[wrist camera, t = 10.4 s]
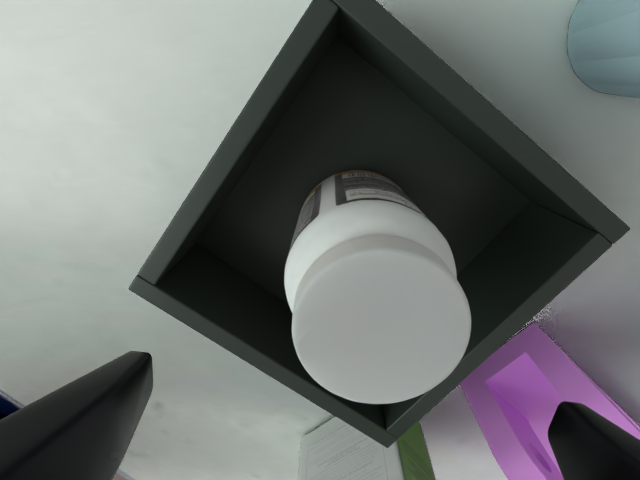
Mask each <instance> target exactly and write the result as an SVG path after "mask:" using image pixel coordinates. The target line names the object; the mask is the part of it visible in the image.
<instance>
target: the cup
mask: <svg viewBox="0 0 640 480" xmlns="http://www.w3.org/2000/svg"><path fill="white" fill-rule="evenodd" d="M567 50H568V55H569V59H570V62H571V64H572V67H573V69H574V72H575V73H576V75H577V76H578V77H579V78H580V79H581V80H582V81H583V82H584V83H585V84H587V85H588V86H589V87H590V88H592V89H594V90H595V91H598V92H602V93H608V94H614V95H621V96H628V97H636V98H640V0H579V2H578V3H577V5H576V7H575V10H574V12H573V14H572V17H571V20H570V24H569V30H568V40H567Z"/></svg>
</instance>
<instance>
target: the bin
mask: <svg viewBox="0 0 640 480" xmlns="http://www.w3.org/2000/svg"><path fill="white" fill-rule="evenodd" d="M350 170H365V171H370V172H375V173H378V174H380V175H382V176H385V177H386V178H388V179H390V180H391V181H392V182H394V183H395V184H396V185H398V186H399V187H400V188H401V189H402V190H403V192H404V193H405V194H406V195H407V196H408V197H409V198H410V199H411V200H412V201H413V202H414V204H415V205H416V206H417V207H418V208H419V210H420V211H421V212H422V213H423V214H424V215H425V216H426V217H427V218H428V219H429V220H430V221H431V222H432V223H433V224H434V225H435V226H436V228H437V229H438V230H439V231H440V232H441V234H442V235H443V236H444V238H445V239H446V240H447V242H448V244H449V246H450V249H451V252H452V254H453V258H454V262H455V266H456V274H457V281H458V282H459V284H460V285H461V287H462V289H463V291H464V293H465V295H466V298H467V300H468V304H469V308H470V313H471V333H470V338H469V342H468V345H467V348H466V351H465V353H464V355H463V357H462V359H461V360H460V362H459V363H458V365H457V366H456V368H455V369H454V370H453V371H452V372H451V374H450V375H449V376H448V377H447V378H446V379H445V380H443V381H442V382H441V383H439V384H438V385H437V386H435V387H434V388H432V389H431V390H429V391H427V392H426V393H424V394H421V395H419V396H417V397H414V398H411V399H408V400H405V401H401V402H396V403H388V404H369V403H360V402H355V401H351V400H348V399H345V398H343V397H340V396H338V395H336V394H334V393H332V392H330V391H328V390H327V389H325V388H324V387H322V386H321V385H320V384H318V383H317V382H316V381H315V380H314V379H313V378H312V377H311V376H310V375H309V373H308V372H307V371H306V370H305V368H304V367H303V365H302V363H301V362H300V360H299V358H298V355H297V353H296V350H295V347H294V343H293V338H292V315H293V314H292V311H291V309H290V307H289V304H288V301H287V296H286V292H285V286H284V271H285V264H286V261H287V257H288V254H289V250H290V247H291V243H292V239H293V235H294V232H295V228H296V225H297V222H298V218H299V215H300V212H301V209H302V206H303V204H304V202H305V200H306V199H307V197H308V196H309V194H310V193H311V192H312V190H313V189H314V188H315V187H316V186H317V185H318V184H320V183H321V182H322V181H324V180H325V179H327V178H329V177H330V176H332V175H335V174H338V173H341V172H345V171H350ZM629 230H630V228H629V226H627V225H626V224H625V223H624V222H623V221H622V220H621V219H620V218H619V217H617V216H616V215H615V214H614V213H613V212H612V211H611V210H610V209H608V208H607V207H606V206H605V205H604V204H603V203H602V202H601V201H599V200H598V199H597V198H596V197H595V196H594V195H593V194H592V193H591V192H589V191H588V190H587V189H586V188H585V187H584V186H583V185H582V184H580V183H579V182H578V181H577V180H576V179H575V178H574V177H573V176H571V175H570V174H569V173H568V172H567V171H566V170H565V169H564V168H563V167H561V166H560V165H559V164H558V163H557V162H556V161H555V160H554V159H552V158H551V157H550V156H549V155H548V154H547V153H546V152H545V151H544V150H542V149H541V148H540V147H539V146H538V145H537V144H536V143H535V142H533V141H532V140H531V139H530V138H529V137H528V136H527V135H526V134H524V133H523V132H522V131H521V130H520V129H519V128H518V127H517V126H516V125H514V124H513V123H512V122H511V121H510V120H509V119H508V118H507V117H505V116H504V115H503V114H502V113H501V112H500V111H499V110H498V109H496V108H495V107H494V106H493V105H492V104H491V103H490V102H489V101H488V100H486V99H485V98H484V97H483V96H482V95H481V94H480V93H479V92H477V91H476V90H475V89H474V88H473V87H472V86H471V85H470V84H468V83H467V82H466V81H465V80H464V79H463V78H462V77H461V76H460V75H458V74H457V73H456V72H455V71H454V70H453V69H452V68H451V67H449V66H448V65H447V64H446V63H445V62H444V61H443V60H442V59H441V58H439V57H438V56H437V55H436V54H435V53H434V52H433V51H432V50H430V49H429V48H428V47H427V46H426V45H425V44H424V43H423V42H421V41H420V40H419V39H418V38H417V37H416V36H415V35H414V34H413V33H411V32H410V31H409V30H408V29H407V28H406V27H405V26H404V25H402V24H401V23H400V22H399V21H398V20H397V19H396V18H395V17H393V16H392V15H391V14H390V13H389V12H388V11H387V10H386V9H385V8H383V7H382V6H381V5H380V4H379V3H378V2H377V1H376V0H313V1H312V2H311V4H310V5H309V7H308V8H307V10H306V11H305V13H304V15H303V16H302V18H301V19H300V21H299V22H298V24H297V26H296V27H295V29H294V30H293V32H292V33H291V35H290V36H289V38H288V40H287V41H286V43H285V44H284V46H283V47H282V49H281V51H280V52H279V54H278V55H277V57H276V58H275V60H274V62H273V63H272V65H271V66H270V68H269V69H268V71H267V72H266V74H265V76H264V77H263V79H262V80H261V82H260V83H259V85H258V87H257V88H256V90H255V91H254V93H253V94H252V96H251V97H250V99H249V101H248V102H247V104H246V105H245V107H244V108H243V110H242V112H241V113H240V115H239V116H238V118H237V119H236V121H235V123H234V124H233V126H232V127H231V129H230V130H229V132H228V133H227V135H226V137H225V138H224V140H223V141H222V143H221V144H220V146H219V148H218V149H217V151H216V152H215V154H214V155H213V157H212V158H211V160H210V162H209V163H208V165H207V166H206V168H205V169H204V171H203V173H202V174H201V176H200V177H199V179H198V180H197V182H196V183H195V185H194V187H193V188H192V190H191V191H190V193H189V194H188V196H187V198H186V199H185V201H184V202H183V204H182V205H181V207H180V209H179V210H178V212H177V213H176V215H175V216H174V218H173V219H172V221H171V223H170V224H169V226H168V227H167V229H166V230H165V232H164V234H163V235H162V237H161V238H160V240H159V241H158V243H157V244H156V246H155V248H154V249H153V251H152V252H151V254H150V255H149V257H148V259H147V260H146V262H145V263H144V265H143V266H142V268H141V270H140V271H139V273H138V275H137V276H136V277H135V279H134V280H133V282H132V283H131V285H130V287H129V290H131V291H132V292H134V293H136V294H137V295H139V296H140V297H142V298H144V299H145V300H147V301H149V302H150V303H152V304H153V305H155V306H157V307H158V308H160V309H162V310H163V311H165V312H166V313H168V314H170V315H171V316H173V317H175V318H176V319H178V320H179V321H181V322H183V323H184V324H186V325H188V326H189V327H191V328H192V329H194V330H196V331H197V332H199V333H201V334H202V335H204V336H205V337H207V338H209V339H210V340H212V341H214V342H215V343H217V344H219V345H220V346H222V347H223V348H225V349H227V350H228V351H230V352H232V353H233V354H235V355H236V356H238V357H240V358H241V359H243V360H245V361H246V362H248V363H249V364H251V365H253V366H254V367H256V368H258V369H259V370H261V371H262V372H264V373H266V374H267V375H269V376H271V377H272V378H274V379H275V380H277V381H279V382H280V383H282V384H284V385H285V386H287V387H288V388H290V389H292V390H293V391H295V392H297V393H298V394H300V395H301V396H303V397H305V398H306V399H308V400H310V401H311V402H313V403H315V404H316V405H318V406H319V407H321V408H323V409H324V410H326V411H328V412H329V413H331V414H332V415H334V416H336V417H337V418H339V419H341V420H342V421H344V422H345V423H347V424H349V425H350V426H352V427H354V428H355V429H357V430H358V431H360V432H362V433H363V434H365V435H367V436H368V437H370V438H371V439H373V440H375V441H376V442H378V443H380V444H381V445H383V446H384V447H386V448H389V447H390V446H391V445H392V444H393V443H394V442H395V441H396V440H398V438H400V437H401V436H402V435H403V434H404V433H405V432H407V431H408V430H409V429H410V428H411V427H412V426H413V425H414V424H415V423H417V422H418V421H419V420H420V419H421V418H422V417H423V416H424V415H425V414H426V413H428V412H429V411H430V410H431V409H432V408H433V407H434V406H435V405H436V404H438V403H439V402H440V401H441V400H442V399H443V398H444V397H445V396H446V395H447V394H449V393H450V392H451V391H452V390H453V389H454V388H455V387H456V386H457V385H459V384H460V383H461V382H462V381H463V380H464V379H465V378H466V377H467V376H468V375H470V374H471V373H472V372H473V371H474V370H475V369H476V368H477V367H478V366H480V365H481V364H482V363H483V362H484V361H485V360H486V359H487V358H488V357H489V356H491V355H492V354H493V353H494V352H495V351H496V350H497V349H498V348H499V347H501V346H502V345H503V344H504V343H505V342H506V341H507V340H508V339H509V338H510V337H512V336H513V335H514V334H515V333H516V332H517V331H518V330H519V329H520V328H522V327H523V326H524V325H525V324H526V323H527V322H528V321H529V320H530V319H531V318H533V317H534V316H535V315H536V314H537V313H538V312H539V311H540V310H541V309H543V308H544V307H545V306H546V305H547V304H548V303H549V302H550V301H551V300H552V299H554V298H555V297H556V296H557V295H558V294H559V293H560V292H561V291H562V290H564V289H565V288H566V287H567V286H568V285H569V284H570V283H571V282H572V281H573V280H575V279H576V278H577V277H578V276H579V275H580V274H581V273H582V272H583V271H585V270H586V269H587V268H588V267H589V266H590V265H591V264H592V263H593V262H594V261H596V260H597V259H598V258H599V257H600V256H601V255H602V254H603V253H604V252H606V251H607V250H608V249H609V248H610V247H611V246H612V244H614V243H615V242H616V241H618V240H619V239H620V238H621V237H622V236H623V235H624V234H625V233H626V232H628V231H629ZM611 243H612V244H611Z"/></svg>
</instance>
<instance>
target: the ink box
mask: <svg viewBox="0 0 640 480" xmlns="http://www.w3.org/2000/svg"><path fill="white" fill-rule="evenodd" d="M297 480H436V478H435V475H434V471H433V467H432V464H431V460H430V456H429V453H428V449H427V445H426V442H425V438H424V435H423V431H422V428H421V425H420V423H419V422H417V423H415V424H414V425H413V426H412V427H411V428H410V429H409V430H408V431H407V432H405V433H404V434H403V435H402V436H401V437H400V438H398V440H396V441H395V442H394V443H393V444H392V445H391V446H390V447H389V448H386V447H384V446H383V445H381V444H380V443H378V442H376V441H375V440H373V439H371V438H370V437H368V436H367V435H365V434H363V433H362V432H360V431H358V430H357V429H355V428H354V427H352V426H350V425H349V424H347V423H345V422H344V421H342V420H341V419H339V418H337V417H334V418H332V419H331V420H329V421H328V422H326V423H324V424H323V425H321V426H320V427H318V428H317V429H315V430H313V431H312V432H310V433H309V434H307V435H305V436H304V437H302V438H301V440H300V452H299V464H298V478H297Z"/></svg>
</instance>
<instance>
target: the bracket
mask: <svg viewBox="0 0 640 480" xmlns="http://www.w3.org/2000/svg"><path fill="white" fill-rule="evenodd" d="M460 385H461V387H462V389H463V391H464V393H465V396H466V398H467V400H468V402H469V404H470V406H471V408H472V411H473V413H474V415H475V417H476V419H477V421H478V423H479V425H480V428H481V430H482V432H483V434H484V436H485V438H486V440H487V443H488V445H489V447H490V449H491V451H492V453H493V455H494V457H495V459H496V461H497V463H498V464H499V466H500V468H501V469H502V471H503V472H504V474H505V475H506V477H507V478H508V480H564V479H563V476H562V474H561V471H560V469H559V466H558V463H557V461H556V458H555V456H554V453H553V451H552V448H551V446H550V443H549V440H548V428H549V425H550V423H551V421H552V418H553V416H554V414H555V411H556V409H557V407H558V405H559V404H560V403H561V402H563V401H568V402H577V403H582V404H584V405H586V406H587V407H589V408H590V409H592V410H594V411H595V412H597V413H598V414H600V415H601V416H603V417H605V418H606V419H608V420H609V421H611V422H612V423H614V424H616V425H617V426H619V427H620V428H622V429H623V430H625V431H627V432H628V433H630V434H631V435H633V436H634V437H636V438H637V439H639V440H640V426H639V425H638V424H637V423H636V422H635V421H634V420H633V419H632V418H631V417H630V416H629V415H628V414H627V413H626V412H625V411H624V410H623V409H622V408H621V407H620V406H619V405H618V404H617V403H615V402H614V401H613V400H612V399H611V398H610V397H609V396H608V395H607V394H606V393H605V392H604V391H603V390H602V389H601V388H600V387H599V386H598V385H597V384H596V383H595V382H594V381H593V380H592V379H591V378H590V377H589V376H588V375H587V374H586V373H585V372H584V371H583V370H582V369H581V368H580V367H579V366H578V365H577V364H576V363H575V362H574V361H573V360H572V359H571V358H570V357H569V356H568V355H567V354H566V353H565V352H564V351H563V350H562V349H561V348H560V347H559V346H558V345H557V344H556V343H555V342H554V341H553V340H552V339H551V338H550V337H549V336H548V335H547V334H546V333H545V332H544V331H542V330H541V329H540V328H539V327H538V326H537V325H536V324H535V323H534V322H533V323H532V324H531V325H529V326H528V327H527V328H525V329H524V330H523V331H521V332H520V333H519V334H517V335H516V336H515V337H513V338H512V339H511V340H509V341H508V342H507V343H505V344H504V345H503V346H501V347H500V348H499V349H497V350H496V351H495V352H494V353H493V354H492V355H491V356H489V357H488V358H487V359H486V360H485V361H484V362H483V363H482V364H481V365H480V366H478V367H477V368H476V369H475V370H474V371H473V372H472V373H471V374H470V375H468V376H467V377H466V378H465V379H464V380H463V381H462V382H461V383H460Z"/></svg>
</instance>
